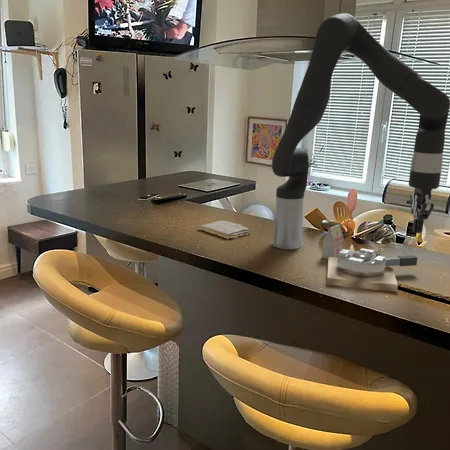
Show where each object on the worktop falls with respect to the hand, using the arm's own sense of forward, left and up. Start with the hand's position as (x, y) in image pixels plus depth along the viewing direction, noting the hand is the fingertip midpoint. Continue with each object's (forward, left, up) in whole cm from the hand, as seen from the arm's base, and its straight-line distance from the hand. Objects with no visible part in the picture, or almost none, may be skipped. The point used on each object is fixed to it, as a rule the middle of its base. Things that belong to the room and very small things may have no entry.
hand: (417, 232), depth 125 cm
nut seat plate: (-14, -2, -14) cm, 20 cm away
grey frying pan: (-9, 0, -11) cm, 15 cm away
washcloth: (-62, +32, -14) cm, 71 cm away
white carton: (-22, +14, -14) cm, 29 cm away
